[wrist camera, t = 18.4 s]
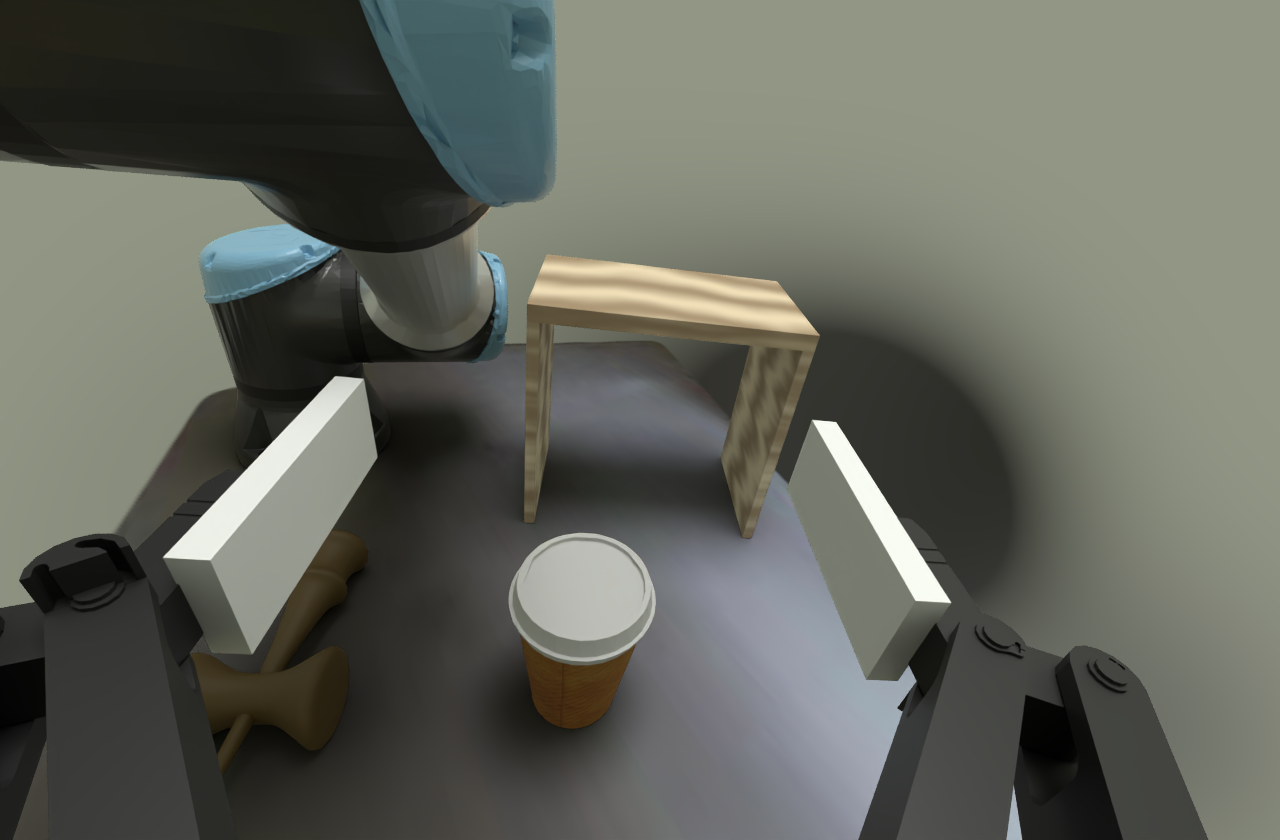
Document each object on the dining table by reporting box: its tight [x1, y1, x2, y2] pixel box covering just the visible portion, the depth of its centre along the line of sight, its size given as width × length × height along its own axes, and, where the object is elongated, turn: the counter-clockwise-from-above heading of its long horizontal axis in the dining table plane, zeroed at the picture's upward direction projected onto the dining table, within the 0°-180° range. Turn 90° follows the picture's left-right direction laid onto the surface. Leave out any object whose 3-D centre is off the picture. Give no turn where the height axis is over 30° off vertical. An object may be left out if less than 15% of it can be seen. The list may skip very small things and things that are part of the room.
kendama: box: [190, 529, 368, 777], centre depth 37 cm, size 6×10×20 cm
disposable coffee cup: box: [509, 533, 656, 729], centre depth 37 cm, size 10×10×12 cm
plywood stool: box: [524, 254, 820, 538], centre depth 55 cm, size 14×24×24 cm, turn 92°
